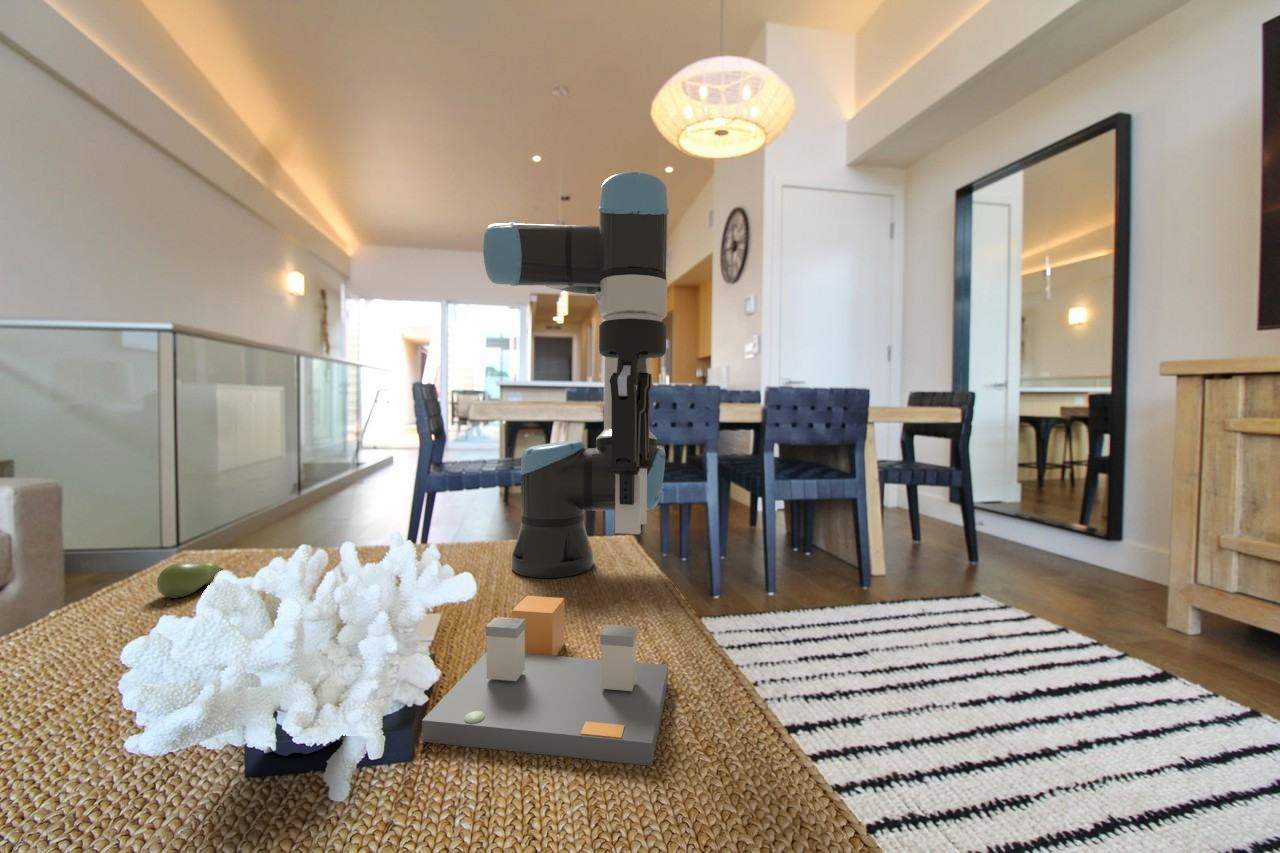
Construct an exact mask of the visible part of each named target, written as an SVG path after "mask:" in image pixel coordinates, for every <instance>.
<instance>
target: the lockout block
mask: <svg viewBox="0 0 1280 853" xmlns="http://www.w3.org/2000/svg"><path fill="white" fill-rule="evenodd" d="M511 618H519V619H525V654H537V655H550V656H559V655H558V654H559V653H560V652H561V650H562V648H563V646H564V645H565V597H554V596H553V597H549V596H535V595H525V597H524V598H523V599H522V600H521V601H519V603H518V604H517V605H515V607H513V609H512V610H511Z"/></svg>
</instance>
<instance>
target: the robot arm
mask: <svg viewBox="0 0 1280 853" xmlns="http://www.w3.org/2000/svg"><path fill="white" fill-rule="evenodd" d="M599 198H600V199H599V206H598V212H599V225H591V224H590V225H588V224H587V225H584V224H583V225H581V224H567V225H566V224H565V225H563V224H540V223H539V224H536V223H527V224H526V223H516V222H511V221H510V222H508V223H492V224H489V225H488V226H487V227H486V229H485V231H484V235H483V244H482V245H483V246H482V247H483V264H484V269H485V273H486V275H487V277H488V280H490V281H491V282H492V283H493V284H496V285H508V286H511V287H512V286H514V287H515V286H545V287H547V288H550V289H553V290H554V289H556V290H560V291H564V292H567V293H572V294H573V293H574V294H584V295H586V294H587V295H594V299H595V300H596V301H597V303H598V305H599V316H600V317H601V318H602V319H603V320H604V321H602V322H601V323H600V324H599V327H598V328H599V329H598V330H599V331H598V334H599V335H598V340H599V341H598V342H599V343H598V344H599V345H598V349H599V353H600V355H601V356H602V357H604V389H603V390H604V392H603V393H604V395H603V396H604V397H603V398H604V401H603V403H604V404H603V408H604V409H603V414H604V418H603V420H604V421H603V427H604V428H603V430H602V432H601V433H600V434H599V435H598V436H596V439H595V448H593V447H592V448H591V447H589V448H586V444H585V442H584V441H583V440H566V441H558V442H552V443H551V442H550V443H543V444H538V445H533V446H530V447H528V448H526V449H525V450H524V451H523V452H522V454H521V461H520V471H519V476H520V528H519V531H518V535H517V537H516V541H515V543H514V548H513V551H512V553H511V558H510V559H511V571H513V572H514V573H516V574H518V575H520V576H524V577H530V578H537V579H538V578H539V579H551V578H552V579H555V578H564V577H571V576H575V575H579V574H582V573H585V572H587V571H589V570H590V569H592V567H593V565H594V553H593V550H592V549H593V548H592V546H591V545H592V544H591V543H590V539H589V536H588V534H587V529H586V527H585V518H584V517H585V511H586V512H587V511H592V512H593V511H596V512H597V511H605V512H606V511H607V512H609V511H611V512H612V511H614V514H615V515H614V520H615V521H614V522H615V523H614V533H615V534H624V535H626V534H629V535H640V534H641V532H642V531H641V530H642V529H641V526H642V525H647V518H648V517H647V516H648V511H649V510H653V509H655V507H657V505H658V504H659V502H660V498H661V494H662V489H663V488H662V487H663V483H664V475H665V466H666V464H665V463H666V451H665V449H664V448H662V447H658V437H656V436H655V435H654V434H653V433H652V432H651V430H650V408H651V388H652V386H653V383H652V382H653V380H652V378H653V377H652V373H650V359H651V358H652V359H655V358H662V357H664V356H665V355H666V353H667V326H666V324H665V322H663V320H664V319H666V317H667V316H668V281H667V255H668V254H667V249H668V248H667V247H668V246H667V245H668V215H669V212H670V209H669V207H668V191H667V187H666V184H665V183H664V181H662V179H661V178H659V177H657V176H655V175H653V174H650V173H646V172H645V173H644V172H640V171H639V172H637V171H635V172H634V171H627V172H620V173H617V174H613V175H611V176H609V177H608V178H606V179H605V180H604V181H603V182H602V184H601V187H600V196H599Z"/></svg>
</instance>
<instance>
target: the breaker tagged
mask: <svg viewBox="0 0 1280 853" xmlns="http://www.w3.org/2000/svg"><path fill="white" fill-rule="evenodd" d="M637 630H638V626H636V625H635V626H634V625H619V624H605V625H604V627H603V628H602V630H601V633H600V634H599V638H600V639H599V645H600V659H601V689H613V690H624V691H632V690H633V687H634V684H635V681H636V662H637V638H638V637H637V636H638V631H637Z"/></svg>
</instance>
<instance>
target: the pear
mask: <svg viewBox="0 0 1280 853" xmlns="http://www.w3.org/2000/svg"><path fill="white" fill-rule="evenodd" d="M221 570H224V569H223V568H222V566H221V565H219V564H216V563H213V562H209V561H208V562H207V561H206V562H197V561H188V562H187V561H186V562H178V563H174V564H171V565H169V566H167V567H165V568H164V569H163V570H162V571H161V572H160V573H159V575H158V577H157V580H156V587H157V590H158V592H159V593H160V594H161V595H163V596H164V597H167V598H170V599H180V598H179V597H181V598H185V597H187V595H188V596H190V595H191V593H192V594H194V593H195V592H197V591H198V590H199V589H200V588H202V587H203V586H210V585H209V584H210V583H211V582H212V581H213V579H214V576H215V574H216V573H217V572H219V571H221ZM189 594H190V595H189ZM184 596H185V597H184Z"/></svg>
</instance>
